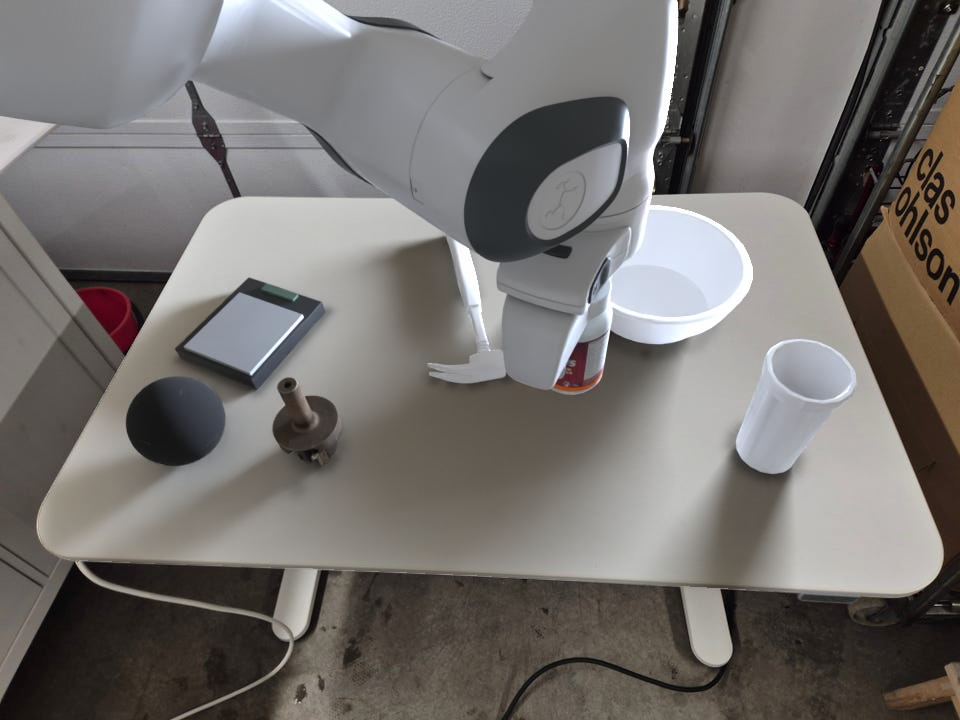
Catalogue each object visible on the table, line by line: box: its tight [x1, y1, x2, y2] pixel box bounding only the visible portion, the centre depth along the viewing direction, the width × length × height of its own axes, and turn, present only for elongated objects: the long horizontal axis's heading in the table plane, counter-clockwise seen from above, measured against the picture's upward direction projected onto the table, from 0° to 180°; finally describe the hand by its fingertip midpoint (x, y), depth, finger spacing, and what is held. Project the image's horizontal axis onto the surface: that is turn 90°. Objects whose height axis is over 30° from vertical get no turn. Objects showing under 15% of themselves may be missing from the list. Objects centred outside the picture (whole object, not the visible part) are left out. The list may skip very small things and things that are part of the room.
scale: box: [174, 277, 326, 391], centre depth 82 cm, size 15×13×3 cm
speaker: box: [125, 375, 227, 467], centre depth 68 cm, size 10×10×10 cm
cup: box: [735, 338, 858, 475], centre depth 62 cm, size 8×8×14 cm
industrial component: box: [271, 376, 342, 466], centre depth 66 cm, size 9×7×12 cm
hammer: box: [427, 233, 507, 384], centre depth 84 cm, size 12×30×3 cm, turn 10°
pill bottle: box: [551, 278, 612, 396], centre depth 54 cm, size 6×6×11 cm
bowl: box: [609, 205, 753, 345], centre depth 80 cm, size 22×22×8 cm
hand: (571, 342), depth 55 cm, fingers closed on pill bottle, 6 cm apart
